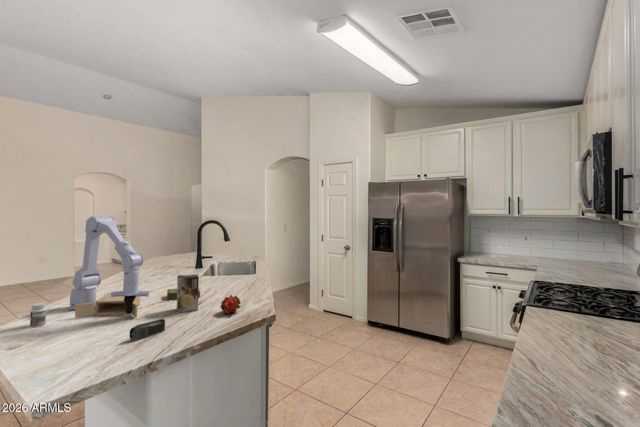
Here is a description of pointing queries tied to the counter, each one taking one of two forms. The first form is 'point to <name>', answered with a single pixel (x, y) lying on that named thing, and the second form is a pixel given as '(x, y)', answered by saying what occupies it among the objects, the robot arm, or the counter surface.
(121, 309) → the cardboard box
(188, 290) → the coffee box
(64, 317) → the counter surface
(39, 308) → the pill bottle
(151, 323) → the mobile phone
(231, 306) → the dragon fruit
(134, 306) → the right flap
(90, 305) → the left flap
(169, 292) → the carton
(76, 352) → the counter surface
